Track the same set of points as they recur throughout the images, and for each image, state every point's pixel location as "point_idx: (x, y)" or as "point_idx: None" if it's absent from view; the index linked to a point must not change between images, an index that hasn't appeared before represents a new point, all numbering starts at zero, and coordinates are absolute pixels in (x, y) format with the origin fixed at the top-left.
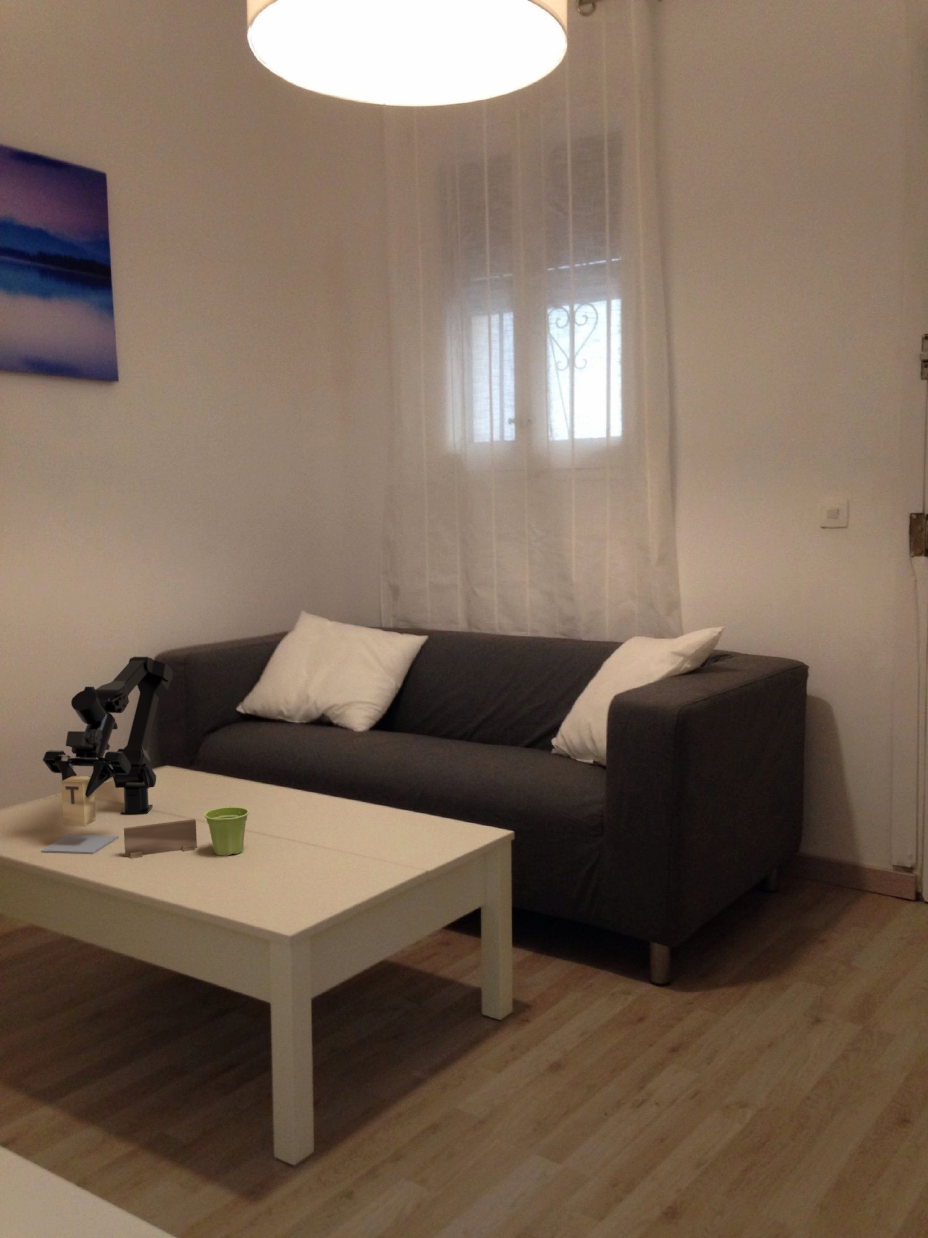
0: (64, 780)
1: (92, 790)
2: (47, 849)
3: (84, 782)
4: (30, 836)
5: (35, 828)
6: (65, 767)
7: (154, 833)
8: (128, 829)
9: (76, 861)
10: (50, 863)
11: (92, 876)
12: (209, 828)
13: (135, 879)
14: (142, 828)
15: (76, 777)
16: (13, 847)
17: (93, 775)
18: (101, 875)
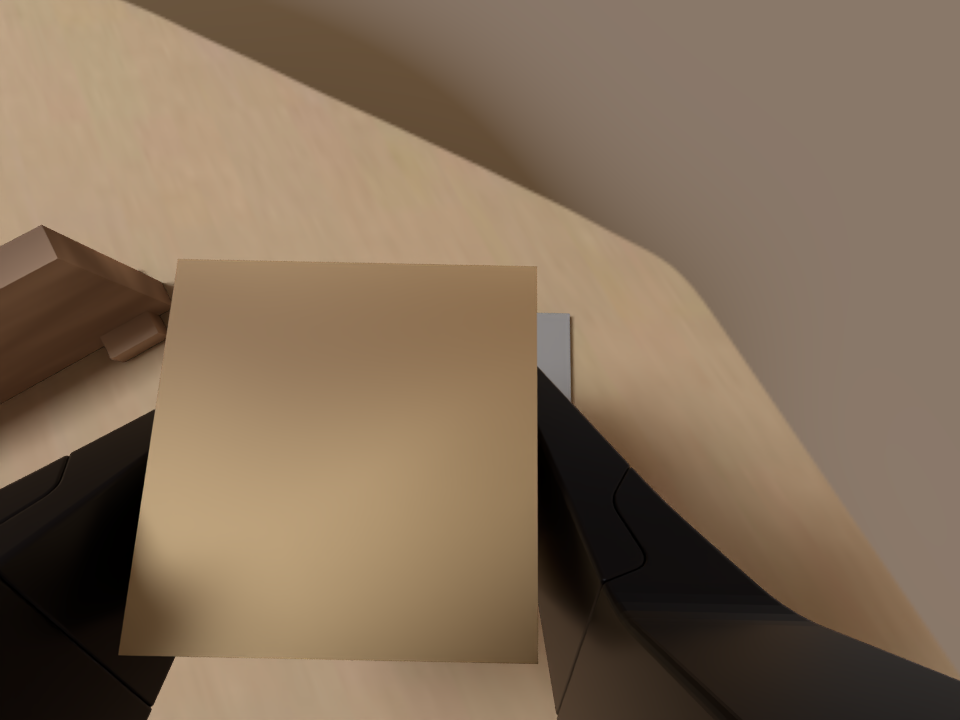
0: (517, 329)
1: None
2: (549, 328)
3: (184, 322)
4: (771, 558)
5: None
6: (711, 653)
7: None
8: (22, 235)
9: (355, 216)
10: (451, 185)
11: (216, 63)
12: None
13: (43, 47)
14: None
15: (407, 544)
16: (740, 375)
17: (16, 515)
18: (186, 75)
